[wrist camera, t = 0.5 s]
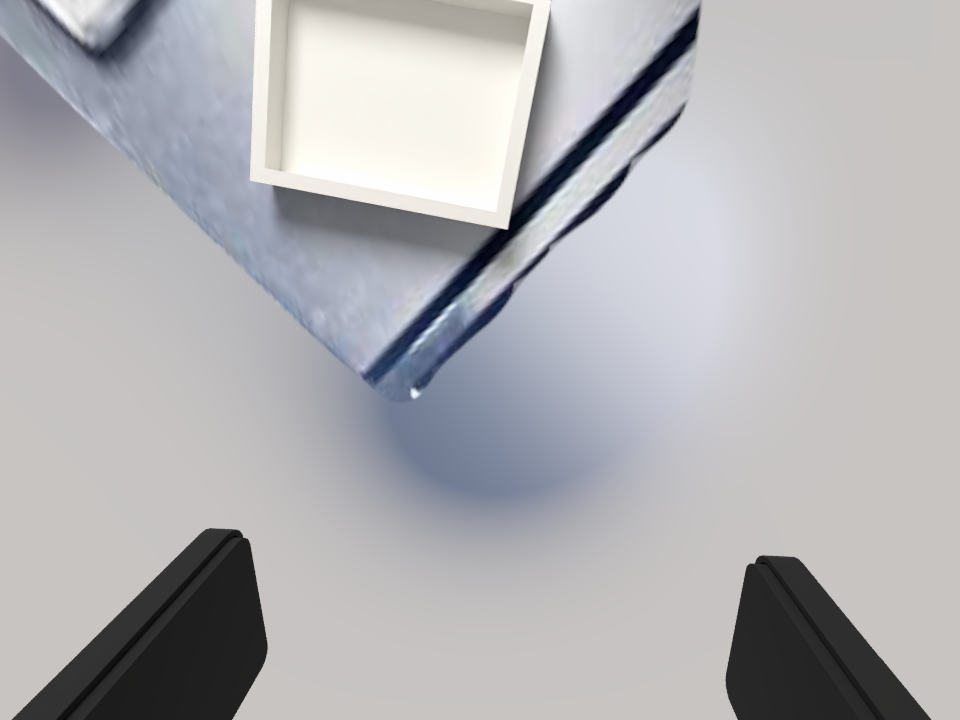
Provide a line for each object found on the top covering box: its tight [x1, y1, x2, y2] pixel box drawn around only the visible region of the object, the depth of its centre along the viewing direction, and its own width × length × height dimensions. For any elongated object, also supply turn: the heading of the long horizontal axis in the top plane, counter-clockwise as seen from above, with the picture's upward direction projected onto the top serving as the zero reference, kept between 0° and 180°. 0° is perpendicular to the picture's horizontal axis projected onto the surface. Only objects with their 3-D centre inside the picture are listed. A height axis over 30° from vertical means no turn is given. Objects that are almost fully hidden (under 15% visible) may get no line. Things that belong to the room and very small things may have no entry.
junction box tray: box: [250, 0, 552, 230], centre depth 31 cm, size 14×18×3 cm
